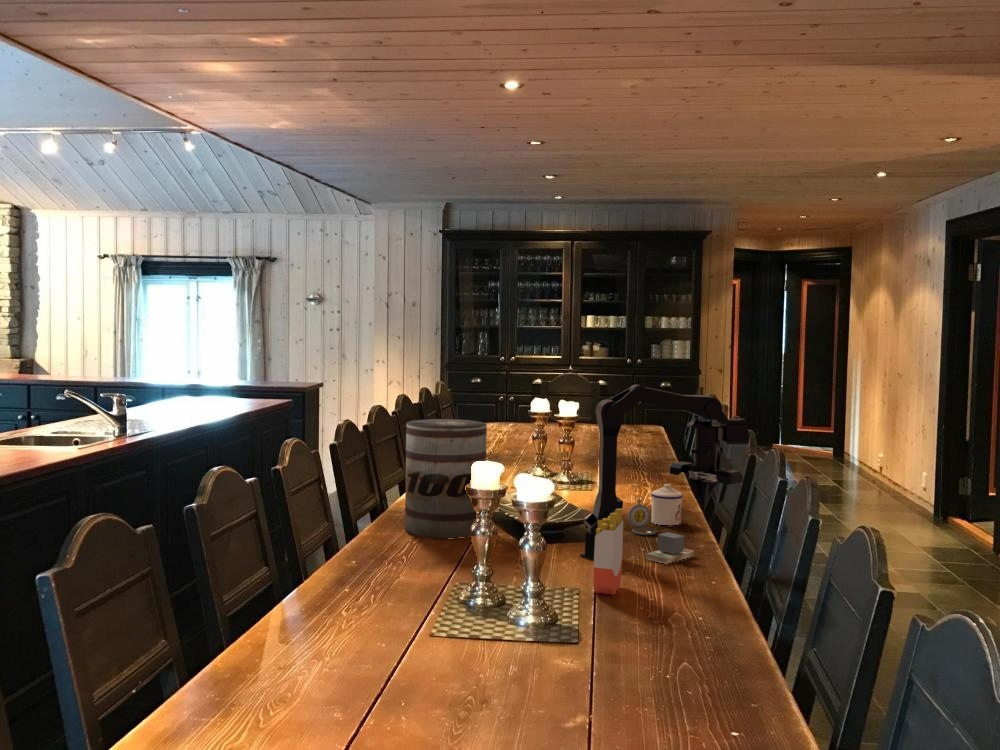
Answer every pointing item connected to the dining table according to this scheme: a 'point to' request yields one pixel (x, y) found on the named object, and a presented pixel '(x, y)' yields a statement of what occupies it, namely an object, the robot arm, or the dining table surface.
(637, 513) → the pocket watch
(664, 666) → the dining table surface
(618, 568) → the french fries container
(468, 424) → the barrel
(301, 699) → the dining table surface
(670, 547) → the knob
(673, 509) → the teacup with lid
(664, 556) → the cream flat rectangular block
